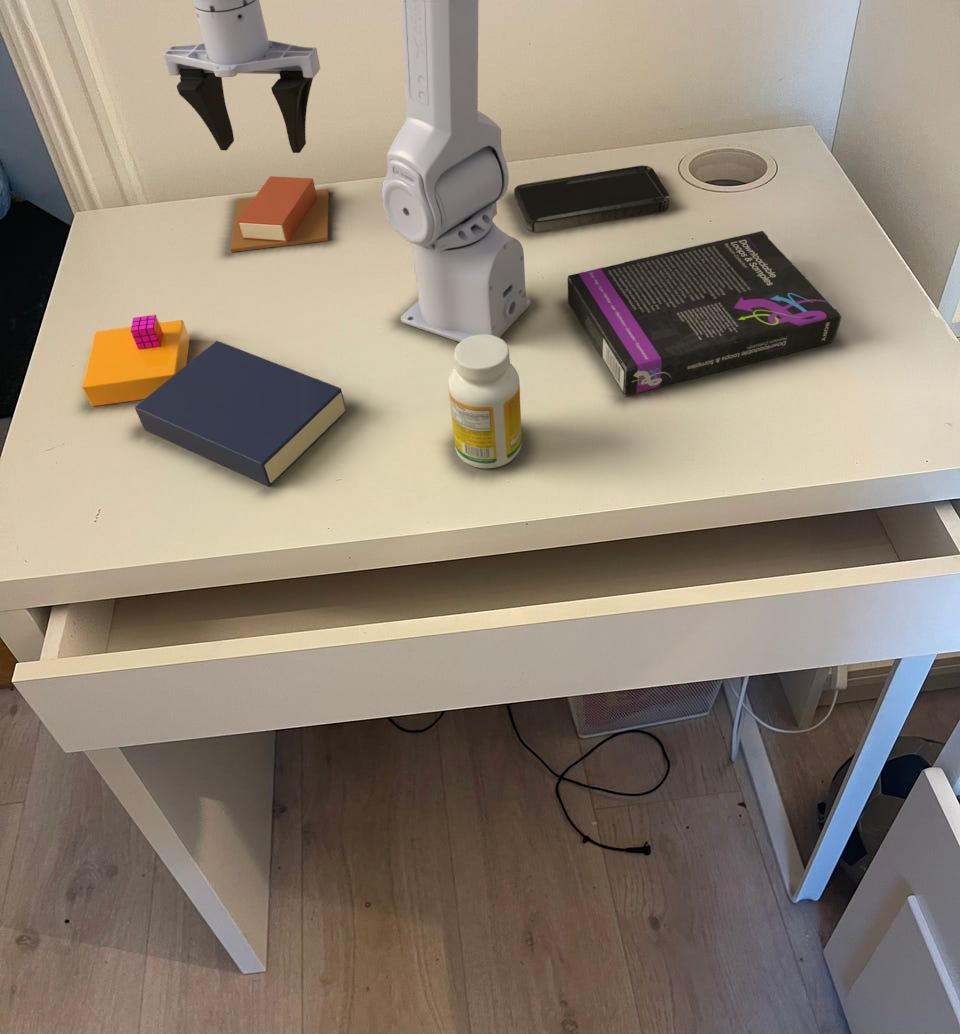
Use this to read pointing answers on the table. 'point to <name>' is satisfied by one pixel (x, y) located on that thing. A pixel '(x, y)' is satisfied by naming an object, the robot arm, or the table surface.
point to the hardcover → (242, 411)
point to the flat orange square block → (134, 360)
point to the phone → (590, 198)
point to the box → (699, 311)
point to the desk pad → (306, 232)
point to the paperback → (277, 209)
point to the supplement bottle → (485, 402)
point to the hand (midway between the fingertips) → (263, 146)
